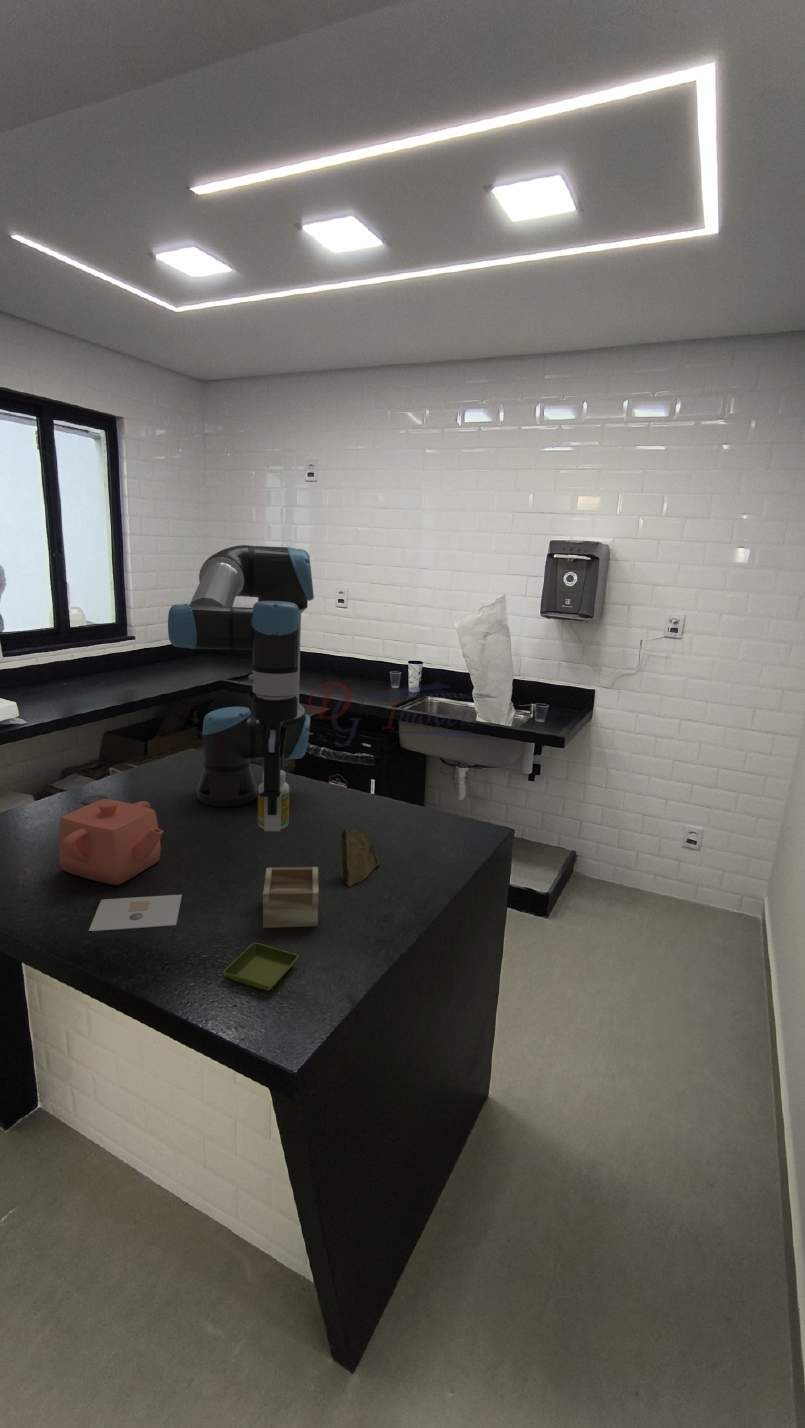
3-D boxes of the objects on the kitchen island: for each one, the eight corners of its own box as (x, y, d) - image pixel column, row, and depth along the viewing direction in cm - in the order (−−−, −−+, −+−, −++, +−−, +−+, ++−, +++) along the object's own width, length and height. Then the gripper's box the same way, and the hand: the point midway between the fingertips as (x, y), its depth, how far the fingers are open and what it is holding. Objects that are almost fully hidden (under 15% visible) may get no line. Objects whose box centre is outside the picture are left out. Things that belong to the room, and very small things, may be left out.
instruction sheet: (101, 900, 118) (101, 899, 118) (181, 895, 121) (181, 894, 121) (88, 931, 108) (88, 930, 108) (176, 925, 111) (176, 924, 111)
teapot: (36, 883, 122) (30, 816, 118) (122, 838, 142) (119, 779, 139) (120, 908, 116) (116, 837, 112) (197, 857, 136) (196, 795, 132)
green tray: (221, 983, 98) (221, 971, 98) (253, 952, 106) (253, 941, 106) (270, 999, 95) (271, 987, 95) (300, 966, 103) (300, 955, 103)
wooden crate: (266, 898, 121) (266, 867, 120) (317, 897, 123) (317, 866, 121) (262, 927, 112) (263, 894, 111) (317, 926, 114) (318, 893, 112)
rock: (371, 845, 141) (329, 846, 136) (387, 826, 135) (343, 826, 130) (383, 892, 134) (339, 895, 130) (400, 873, 129) (354, 876, 124)
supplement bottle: (281, 832, 110) (282, 779, 108) (252, 828, 112) (252, 775, 109) (293, 820, 116) (294, 769, 113) (265, 816, 117) (266, 765, 114)
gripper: (258, 683, 116) (257, 802, 122) (245, 707, 99) (245, 846, 104) (299, 684, 117) (297, 803, 123) (295, 708, 99) (292, 846, 105)
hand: (273, 822), depth 113 cm, fingers closed on supplement bottle, 5 cm apart
